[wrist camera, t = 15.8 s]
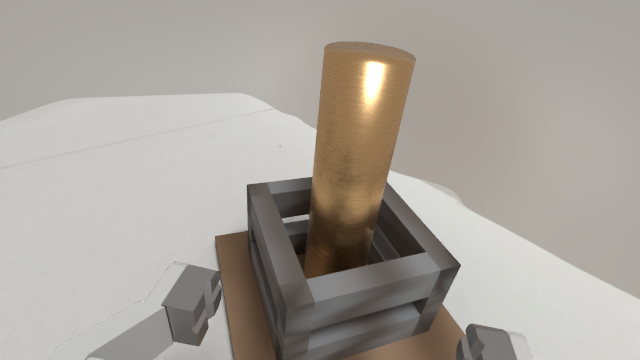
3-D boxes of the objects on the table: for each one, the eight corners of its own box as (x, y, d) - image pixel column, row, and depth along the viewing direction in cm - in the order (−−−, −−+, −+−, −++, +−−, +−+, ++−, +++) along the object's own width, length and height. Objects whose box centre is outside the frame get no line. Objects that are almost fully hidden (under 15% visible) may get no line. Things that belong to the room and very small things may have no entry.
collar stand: (248, 447, 18) (245, 374, 14) (215, 244, 31) (208, 170, 26) (474, 361, 24) (523, 288, 20) (370, 217, 36) (386, 152, 32)
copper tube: (313, 319, 24) (347, 66, 14) (295, 272, 28) (311, 41, 18) (368, 304, 26) (434, 65, 16) (345, 261, 29) (386, 42, 19)
